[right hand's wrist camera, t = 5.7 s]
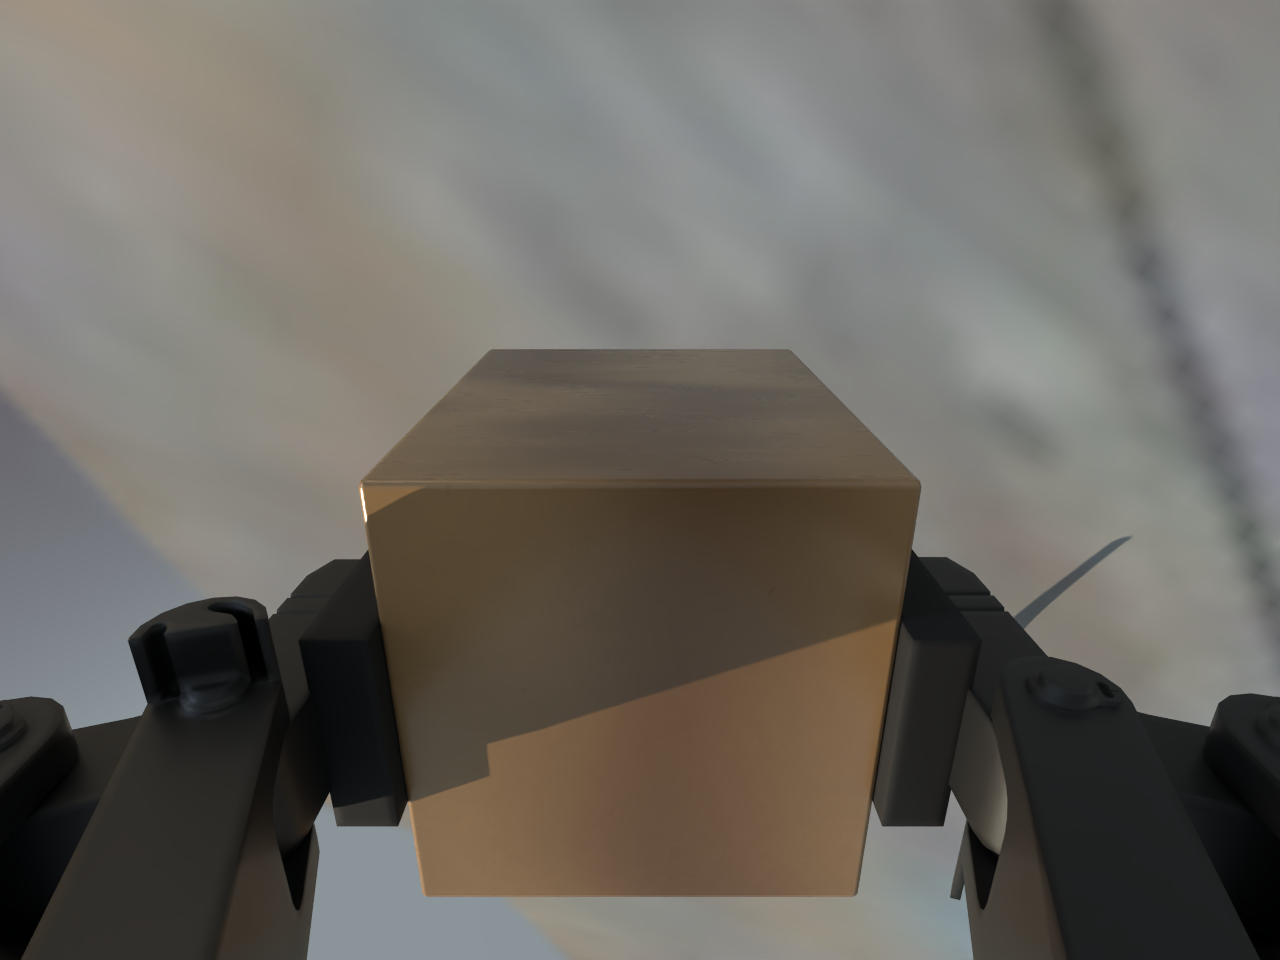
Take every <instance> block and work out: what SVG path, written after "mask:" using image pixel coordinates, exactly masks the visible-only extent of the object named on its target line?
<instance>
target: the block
mask: <svg viewBox="0 0 1280 960" xmlns="http://www.w3.org/2000/svg"><path fill="white" fill-rule="evenodd" d="M359 492H360V498H361V504H362V511H363V517H364V523H365V530H366V536H367V543H368V549H369V555H370V562H371V568H372V574H373V581H374V587H375V593H376V600H377V606H378V612H379V619H380V625H381V632H382V638H383V644H384V651H385V657H386V663H387V670H388V676H389V682H390V689H391V695H392V701H393V708H394V714H395V721H396V727H397V733H398V740H399V746H400V752H401V759H402V765H403V771H404V778H405V784H406V790H407V797H408V803H409V810H410V816H411V822H412V829H413V835H414V841H415V848H416V854H417V860H418V867H419V873H420V879H421V886H422V892H423V894H424V895H425V896H428V897H852V896H855V895H856V894H857V893H858V887H859V880H860V874H861V867H862V861H863V855H864V848H865V842H866V836H867V829H868V823H869V817H870V810H871V804H872V798H873V791H874V785H875V778H876V772H877V766H878V759H879V753H880V747H881V740H882V734H883V728H884V721H885V715H886V709H887V702H888V696H889V689H890V683H891V677H892V670H893V664H894V658H895V651H896V645H897V639H898V632H899V626H900V620H901V613H902V607H903V600H904V594H905V588H906V581H907V575H908V569H909V562H910V556H911V550H912V543H913V537H914V531H915V524H916V518H917V511H918V505H919V499H920V492H921V484H920V481H919V480H918V479H917V478H916V477H915V476H914V475H913V474H912V473H911V472H910V471H909V470H908V469H907V468H906V467H905V466H904V465H903V464H902V463H901V462H900V461H899V460H898V459H897V458H896V457H895V456H894V454H893V453H892V452H891V451H890V450H889V449H888V448H887V447H886V446H885V445H884V444H883V443H882V442H881V441H880V440H879V439H878V438H877V437H876V436H875V435H874V434H873V433H872V432H871V431H870V430H869V429H868V428H867V427H866V426H865V425H864V424H863V423H862V422H861V421H860V420H859V419H858V418H857V417H856V416H855V415H854V414H853V413H852V412H851V411H850V410H849V409H848V408H847V407H846V406H845V405H844V404H843V403H842V402H841V401H840V400H839V399H838V398H837V397H836V396H835V395H834V394H833V393H832V392H831V391H830V390H829V389H828V388H827V387H826V386H825V385H824V384H823V383H822V382H821V381H820V380H819V379H818V378H817V377H816V376H815V375H814V374H813V373H812V372H811V371H810V369H809V368H808V367H807V366H806V365H805V364H804V363H803V362H802V361H801V360H800V359H799V358H798V357H797V356H796V355H795V354H794V353H793V352H792V351H790V350H788V349H492V350H490V351H488V352H487V353H486V354H485V355H484V356H483V357H482V358H481V359H480V360H479V361H478V362H477V364H476V365H475V366H474V367H473V368H472V369H471V370H470V371H469V372H468V373H467V374H466V375H465V376H464V377H463V378H462V379H461V380H460V381H459V382H458V383H457V384H456V385H455V386H454V387H453V388H452V389H451V390H450V391H449V392H448V393H447V394H446V395H445V396H444V397H443V398H442V399H441V400H440V401H439V402H438V403H437V404H436V405H435V406H434V407H433V408H432V409H431V410H430V411H429V412H428V413H427V414H426V415H425V416H424V417H423V418H422V419H421V420H420V421H419V422H418V423H417V424H416V425H415V426H414V427H413V428H412V429H411V430H410V431H409V432H408V433H407V434H406V435H405V436H404V437H403V438H402V439H401V440H400V441H399V442H398V443H397V444H396V445H395V447H394V448H393V449H392V450H391V451H390V452H389V453H388V454H387V455H386V456H385V457H384V458H383V459H382V460H381V461H380V462H379V463H378V464H377V465H376V466H375V467H374V468H373V469H372V470H371V471H370V472H369V473H368V474H367V475H366V476H365V477H364V478H363V479H362V480H361V481H360V484H359Z"/></svg>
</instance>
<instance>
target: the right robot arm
mask: <svg viewBox="0 0 1280 960" xmlns="http://www.w3.org/2000/svg"><path fill="white" fill-rule="evenodd" d="M128 642H129V646H130V649H131V652H132V655H133V658H134V662H135V665H136V668H137V671H138V674H139V677H140V681H141V684H142V687H143V690H144V693H145V697H146V700H147V703H148V704H147V706H146V708H145V710H144V712H143V714H142V715H141V716H138V717H134V718H129V719H124V720H119V721H114V722H109V723H104V724H99V725H94V726H89V727H84V728H79V729H74V730H72V729H71V726H70V723H69V721H68V718H67V715H66V713H65V710H64V707H63V706H62V705H60V704H59V703H57V702H56V701H55V700H53V699H51V698H40V697H25V698H18V699H11V700H2V701H0V960H307V952H308V943H309V935H310V927H311V919H312V910H313V902H314V894H315V885H316V877H317V869H318V861H319V845H318V839H317V834H316V829H315V825H314V821H315V819H316V817H317V815H318V813H319V811H320V810H321V808H322V806H323V804H324V802H325V800H326V798H327V796H328V794H329V792H330V795H331V800H332V805H333V809H334V814H335V819H336V824H337V826H398V825H399V823H400V820H401V817H402V815H403V812H404V810H405V807H406V804H407V802H408V797H407V790H406V784H405V778H404V771H403V765H402V759H401V752H400V746H399V740H398V733H397V727H396V721H395V714H394V708H393V701H392V695H391V689H390V682H389V676H388V670H387V663H386V657H385V651H384V644H383V638H382V632H381V625H380V619H379V612H378V606H377V600H376V593H375V587H374V581H373V574H372V568H371V562H370V555H369V549H368V551H367V552H366V553H365V554H364V556H363V557H362V558H361V559H334V560H333V561H331V562H329V563H328V564H326V565H324V566H323V567H321V568H319V569H318V570H316V571H314V572H312V573H311V574H309V575H307V576H306V578H305V579H304V580H303V581H302V582H301V583H300V584H299V586H298V587H297V588H296V589H295V590H294V591H293V592H292V593H291V598H287V599H286V600H285V601H284V603H283V604H282V605H281V606H280V607H279V608H278V609H277V614H273V615H272V616H271V617H270V618H269V620H268V615H267V611H266V607H265V606H263V605H262V604H260V603H259V602H257V601H256V600H253V599H248V598H242V597H219V598H210V599H206V600H201V601H196V602H192V603H187V604H185V605H182V606H179V607H177V608H174V609H171V610H169V611H166V612H164V613H161V614H160V615H158V616H156V617H155V618H153V619H151V620H150V621H148V622H146V623H144V624H143V625H141V626H140V627H139V628H138V629H137V630H136V631H135V632H134V633H133V634H132V635H131V636H130V637H129V638H128ZM951 790H952V792H953V793H954V795H955V797H956V799H957V801H958V803H959V805H960V807H961V809H962V811H963V813H964V814H965V816H966V818H967V820H966V825H965V829H964V834H963V838H962V843H961V847H960V852H959V856H958V860H957V865H956V869H955V874H954V878H953V883H952V889H951V896H950V898H954V899H958V900H960V898H961V894H962V890H963V886H964V884H965V892H966V900H967V908H968V917H969V925H970V933H971V941H972V950H973V958H974V960H1280V697H1272V696H1265V695H1258V694H1251V693H1250V694H1240V695H1230V696H1229V697H1227V698H1226V699H1224V700H1223V701H1221V702H1220V703H1219V704H1218V706H1217V709H1216V712H1215V714H1214V717H1213V720H1212V723H1211V725H1210V727H1208V726H1203V725H1198V724H1193V723H1188V722H1183V721H1178V720H1173V719H1168V718H1163V717H1158V716H1152V715H1148V714H1144V713H1140V712H1137V711H1136V709H1135V707H1134V705H1133V703H1132V702H1131V700H1130V699H1129V698H1128V697H1127V695H1126V694H1125V693H1124V692H1123V691H1122V689H1121V688H1120V687H1118V686H1117V685H1116V684H1114V683H1113V682H1111V681H1110V680H1108V679H1107V678H1105V677H1104V676H1103V675H1101V674H1099V673H1097V672H1095V671H1092V670H1090V669H1088V668H1086V667H1083V666H1081V665H1079V664H1077V663H1073V662H1069V661H1065V660H1061V659H1057V658H1053V657H1048V656H1047V655H1046V654H1045V653H1044V652H1043V651H1042V650H1041V648H1040V647H1039V646H1038V645H1037V644H1036V643H1035V642H1034V641H1033V639H1032V638H1031V637H1030V636H1029V635H1028V634H1027V633H1026V632H1025V630H1024V629H1023V628H1022V627H1021V626H1020V625H1019V624H1018V623H1017V621H1016V620H1015V619H1014V618H1013V617H1012V616H1011V615H1010V614H1009V612H1005V611H1004V607H1003V606H1002V605H1001V603H1000V602H999V601H998V600H997V599H996V598H995V597H994V596H991V595H990V591H989V590H988V589H987V588H986V586H985V585H984V584H983V583H982V582H981V581H980V580H979V579H978V577H977V576H976V575H975V574H974V573H973V572H971V571H969V570H967V569H966V568H964V567H962V566H961V565H959V564H957V563H955V562H954V561H952V560H950V559H949V558H947V557H918V556H917V555H916V554H915V553H914V551H913V550H911V556H910V562H909V569H908V575H907V581H906V588H905V594H904V600H903V607H902V613H901V620H900V626H899V632H898V639H897V645H896V651H895V658H894V664H893V670H892V677H891V683H890V689H889V696H888V702H887V709H886V715H885V721H884V728H883V734H882V740H881V747H880V753H879V759H878V766H877V772H876V778H875V785H874V791H873V798H872V801H873V803H874V806H875V808H876V811H877V814H878V816H879V819H880V821H881V824H882V826H944V821H945V816H946V812H947V807H948V802H949V797H950V793H951Z"/></svg>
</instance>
